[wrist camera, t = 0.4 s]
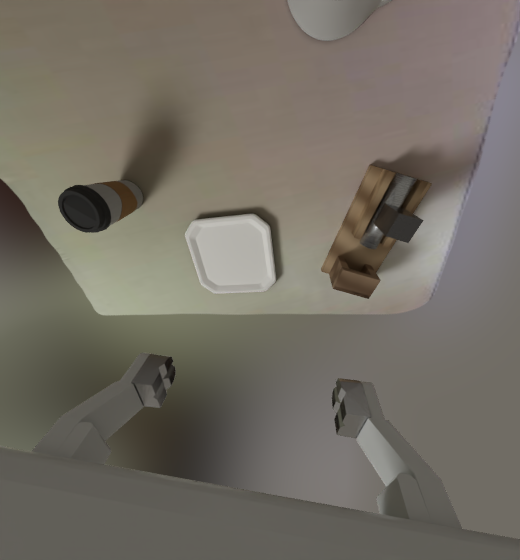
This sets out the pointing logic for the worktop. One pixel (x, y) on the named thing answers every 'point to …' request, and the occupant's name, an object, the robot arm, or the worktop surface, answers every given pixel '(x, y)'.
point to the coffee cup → (99, 204)
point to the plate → (232, 253)
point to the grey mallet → (392, 215)
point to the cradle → (347, 249)
